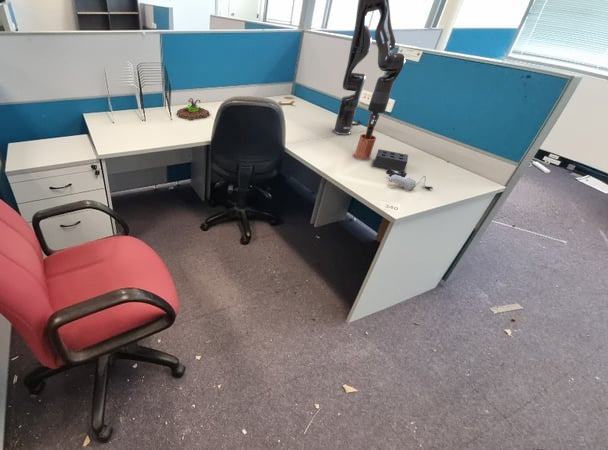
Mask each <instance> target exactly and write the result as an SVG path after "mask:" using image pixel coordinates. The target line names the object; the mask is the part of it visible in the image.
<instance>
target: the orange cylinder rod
mask: <svg viewBox="0 0 608 450" xmlns="http://www.w3.org/2000/svg"><path fill="white" fill-rule="evenodd" d="M369 128H372V127H369ZM375 128H376V125H375V126H374V128H373V131H372V134H371V137H372V135H373V133H374V131H375ZM364 134H365V138H366V134H367V130H366V131H365V133H364ZM371 137H370V138H366V139H371Z"/></svg>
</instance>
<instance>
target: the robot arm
mask: <svg viewBox="0 0 608 450" xmlns="http://www.w3.org/2000/svg"><path fill="white" fill-rule="evenodd" d="M389 1H390V0H358V1H357V9H356V17H355V23H354V29H353V34H352V40H351V43H350V48H349V49H350V50H349V55H348V59H347V60H348V61H347V65H346V68H345V73H344V76H343V81H342V89H343V90H344V91H348V92H354V93H352V94H349V95H343V97H342V98H341V100H340V104H339V107H338V112H337V116H336V120H335V125H334V128H333V133H335V134H338V135H342V136H346V135H349V134H350V133H351V129H352V126H358V125H360V124H361V123H362V121H361V122H359V121H358V122H357V123H355V122H354V119H355V115H356V111H357V108H358V104H359V101H360V96H361V93H362V91H363V88H364V84H365V82H366V74H365V73H359V72H353V71H354V69H355V68H356V67H357V66H358V65H359V64H360V63H361V62H362V61H363V60H364V59H365V58H366V57H367V56H368V54H369V53H370V50H371V46H372V40H373V36H372V33H371V30H370V29H369V27H368V24H367V15H368V13H370V12H374V11H378V12H379V20H378V22H377V25H376V28H375V32H374V40H375V43H376V47H377V66H378V68H379V69H380V71H382V72H385V74H384V75H381V76H379V77H378V78H377V80H376V83H375V87H374V90H373V92H372V94H371V98H370V101H369V104H368V108H367V110H368V112H370V115H369V120H368V123H367V128H366V131H367V134H366V133H365V134H366V138H370V137H371V134H372V131H373V132H374V130H373V128H374V129H375V127H376V125H377V123H378V121H379V118H380V114H384V113H385V112H386V109H387V108H388V107H387V106H388V104H389V101H390V98H391V92H392V89H393V86H394V83H395V82H396V79H397V78H398V77H399V75H400V73H401V71H402V70H403V68H404V67H405V63H406V57H405V55H404V54H403V53H401V52H391V51H393V50H394V49H395V48H396V45H397V41H396V37H395V34H394V30H393V27H392V21H391V19H392V18H391V10H390V9H391V8H390V2H389ZM353 122H354V123H353ZM374 126H375V127H374ZM369 127H372V128H369ZM372 135H373V134H372Z"/></svg>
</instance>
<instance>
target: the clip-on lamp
mask: <svg viewBox="0 0 608 450" xmlns="http://www.w3.org/2000/svg"><path fill="white" fill-rule="evenodd" d="M385 174H386V175H388V176H387V180H390V182H391V183H393V184H397V185H399V186H401V187H402V188H403V189H405V190H408V191H411V190H412V189H414V188H416V186H417V185H419V183H420V182H421V181H422V180H423V178H424V180H423V186H424V188H425V189H426V190H434V187H433V186H426V180H427V177H426V175H423V176H422V177H421V178H420V179H419V181H418V182H417V183H416V179H414V178H413V177H406V176H407V174H408V173H407V172H405V170H404V171H401V172H399V171H396V170H392V169H388V170H387V169H386V171H385Z"/></svg>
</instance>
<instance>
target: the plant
mask: <svg viewBox="0 0 608 450" xmlns="http://www.w3.org/2000/svg"><path fill="white" fill-rule="evenodd" d="M187 102H188V104H187V106H185V107H182V108H179V109H178V110H177V111H176V113H177V116H178V117H179V118H181V119H185V120H189V121H194V120H200V119H205V118H208V116H210V111H209V110H208V109H206V108H203V107H201V106H199V104H197V102H198V103H202V101H201V100H200V99H196V100H195V101H194V99H193V98H191V97H189V99H188V100H187ZM189 103H191V104H189Z"/></svg>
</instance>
